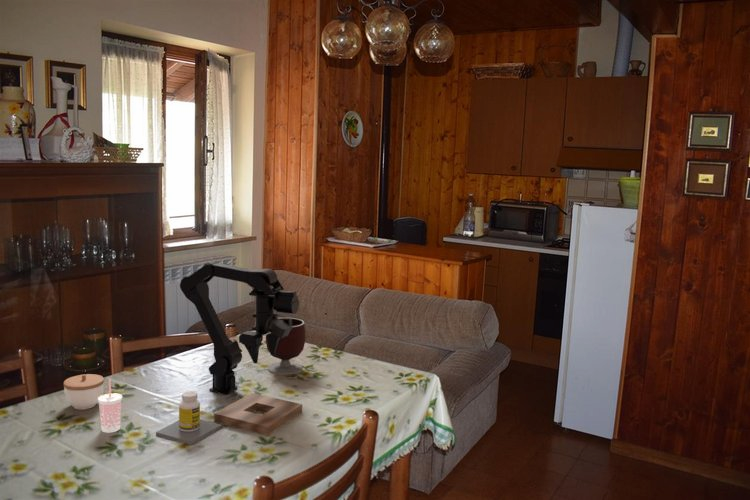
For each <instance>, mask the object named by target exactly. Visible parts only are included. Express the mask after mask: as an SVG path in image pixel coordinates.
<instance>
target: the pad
mask: <svg viewBox="0 0 750 500" xmlns="http://www.w3.org/2000/svg"><path fill="white" fill-rule="evenodd" d="M221 428H222V424H220V423H216V422H212V421H207V420H205V419H200V427H199V429H197V430H195V431H192V432H184V431H181V430H180V429H179V419H178V420H177V421H174V422H173V423H171V424H168V425H167V426H165V427H163V428H161V429H160V430H157V431H155V436H159V437H161V438H165V439H169V440H172V441H176V442H180V443H184V444H187V445H191V446H192V445H195V444H197V442H199V441H200V440H202V439H204V438H205V437H207V436H209V435H211V434H212V433H215V432H216V431H218V430H219V429H221Z"/></svg>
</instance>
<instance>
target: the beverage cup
mask: <svg viewBox="0 0 750 500" xmlns="http://www.w3.org/2000/svg"><path fill="white" fill-rule="evenodd" d="M111 382H112V380H111V378H109V379H108V393H105V394H104V393H103V394H102V395H101V396H100V397H98V402H97V403H98V405H99V407H98V408H99V415H100V416H99V417H100V426H101V432H103V433H107V434H109V433H115V432H117V431H119V430H120V429H121V419H122V418H121V417H122V400H123V395H122V394H120V393H115V392H114V393H112V386H111V385H112V384H111Z"/></svg>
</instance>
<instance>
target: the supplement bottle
mask: <svg viewBox="0 0 750 500" xmlns="http://www.w3.org/2000/svg"><path fill="white" fill-rule="evenodd" d="M178 405H179V406H178V420H179V429H180V430H181V431H184V432H192V431H195V430H197V429H199V427H200V420H201V417H200V416H201V402H200V401H199V399H198V392H196V391H193V390H188V391H185V392H183V393H182V394H181V401H179V404H178Z"/></svg>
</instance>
